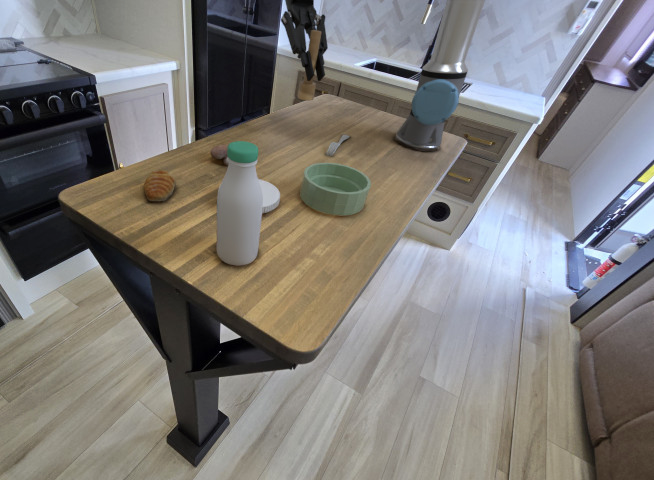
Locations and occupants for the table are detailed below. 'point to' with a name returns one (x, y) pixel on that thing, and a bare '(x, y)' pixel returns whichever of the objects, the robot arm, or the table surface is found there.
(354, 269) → the table surface
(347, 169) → the bowl
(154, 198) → the pastry
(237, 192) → the milk bottle
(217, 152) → the mushroom
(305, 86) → the pestle
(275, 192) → the plastic lid
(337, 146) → the fork
